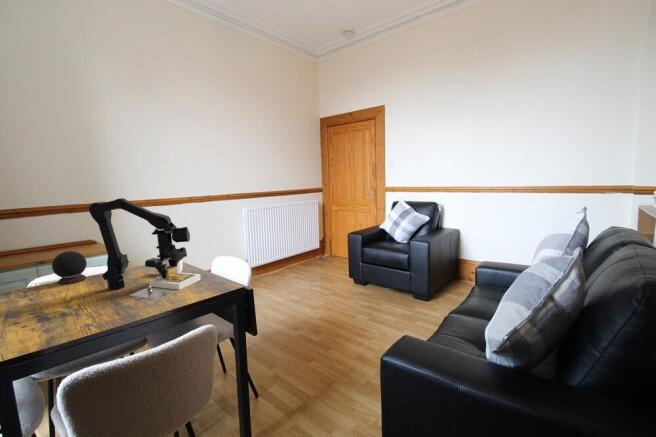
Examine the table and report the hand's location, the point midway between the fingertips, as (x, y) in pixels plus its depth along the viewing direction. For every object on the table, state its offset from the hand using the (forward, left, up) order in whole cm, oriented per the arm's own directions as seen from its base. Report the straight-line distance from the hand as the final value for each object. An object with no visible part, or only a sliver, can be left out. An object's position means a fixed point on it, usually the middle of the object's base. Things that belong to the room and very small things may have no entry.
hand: (169, 276), depth 145 cm
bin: (+3, 0, -4) cm, 5 cm away
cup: (-11, +15, -4) cm, 19 cm away
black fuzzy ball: (-54, -8, -4) cm, 54 cm away
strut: (+4, 0, -1) cm, 4 cm away
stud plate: (+3, -12, -4) cm, 14 cm away
